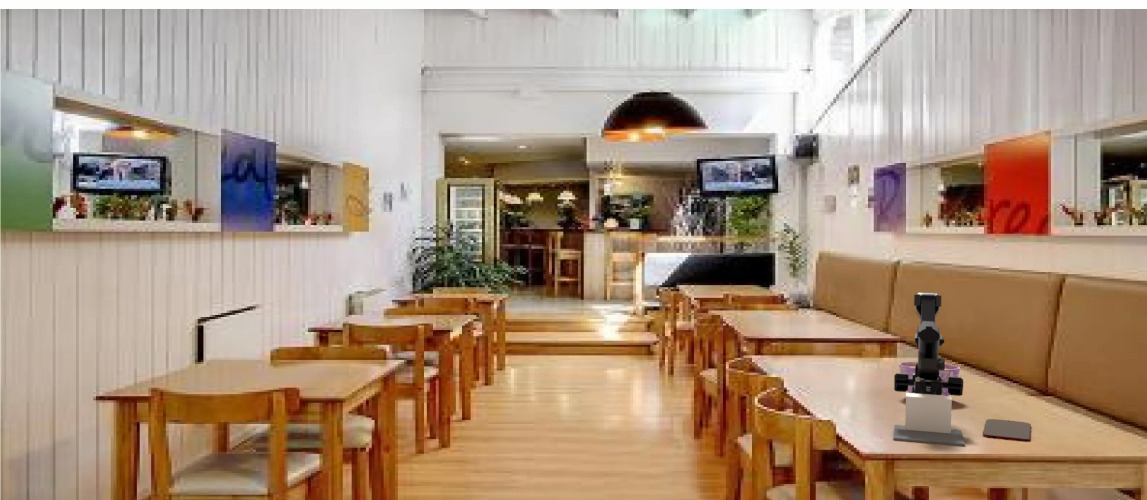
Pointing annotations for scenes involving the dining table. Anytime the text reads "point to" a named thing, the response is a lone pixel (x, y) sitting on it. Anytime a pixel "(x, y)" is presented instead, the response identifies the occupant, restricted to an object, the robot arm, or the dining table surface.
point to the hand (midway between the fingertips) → (928, 407)
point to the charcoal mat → (929, 436)
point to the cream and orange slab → (928, 413)
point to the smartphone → (1007, 430)
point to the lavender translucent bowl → (948, 372)
